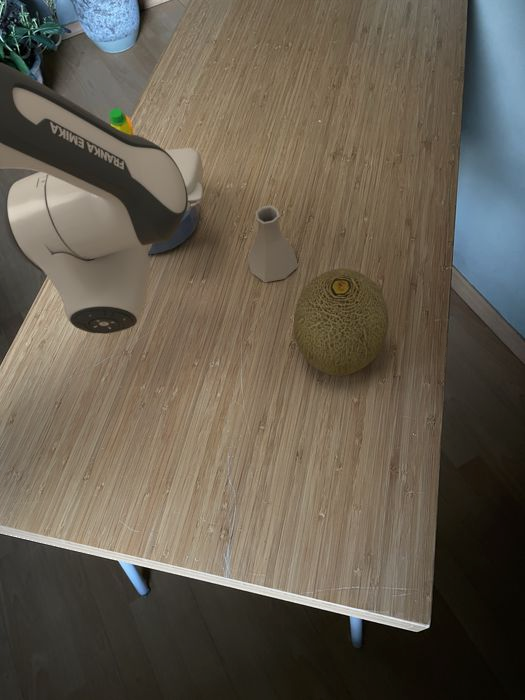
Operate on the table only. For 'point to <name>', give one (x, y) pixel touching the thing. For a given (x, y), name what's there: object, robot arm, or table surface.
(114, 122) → the toy figure
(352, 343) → the fruit
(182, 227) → the bowl
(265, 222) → the flask
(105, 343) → the table surface
